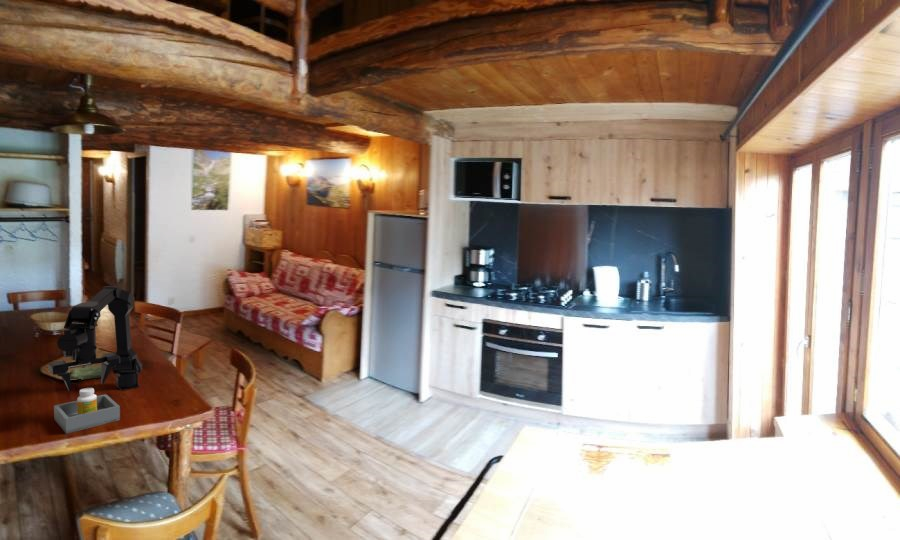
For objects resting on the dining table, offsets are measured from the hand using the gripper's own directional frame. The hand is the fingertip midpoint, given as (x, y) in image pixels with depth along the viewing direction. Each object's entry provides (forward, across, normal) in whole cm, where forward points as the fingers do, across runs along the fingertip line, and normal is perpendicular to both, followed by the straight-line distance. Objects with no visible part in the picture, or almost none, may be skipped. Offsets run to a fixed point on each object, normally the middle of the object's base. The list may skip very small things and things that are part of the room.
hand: (86, 387), depth 164 cm
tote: (+12, 0, 0) cm, 12 cm away
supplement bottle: (+11, 0, 0) cm, 11 cm away
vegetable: (+12, -12, -42) cm, 45 cm away
